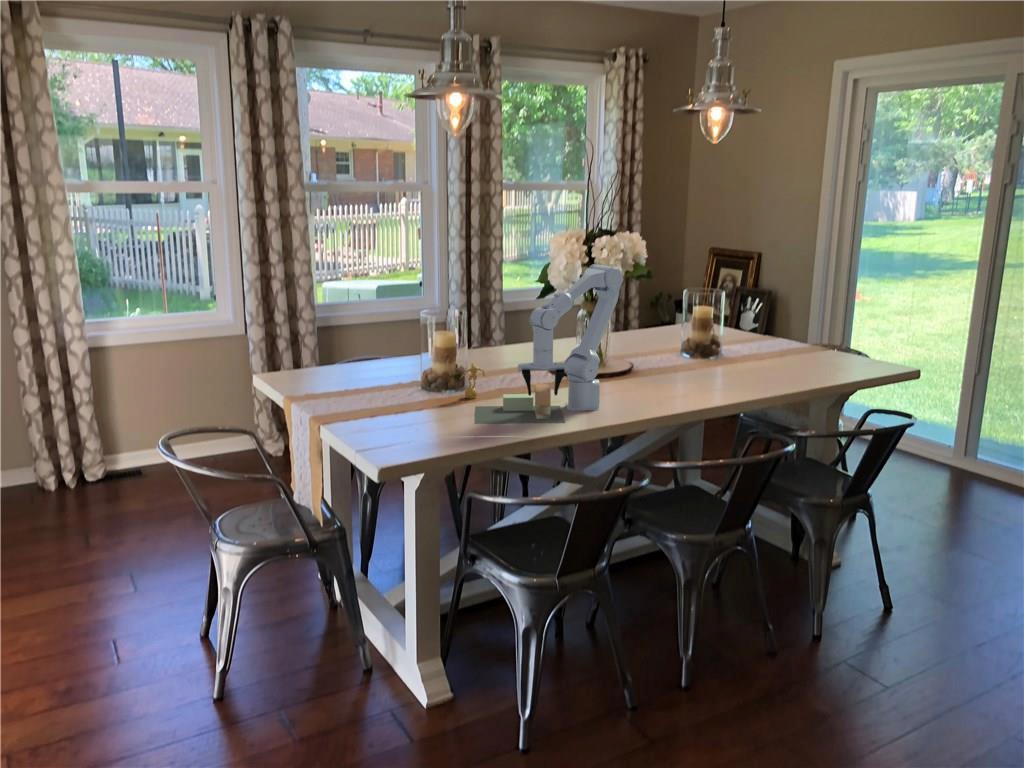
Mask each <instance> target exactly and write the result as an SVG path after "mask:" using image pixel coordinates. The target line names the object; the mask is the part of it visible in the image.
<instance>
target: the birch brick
mask: <svg viewBox="0 0 1024 768" xmlns="http://www.w3.org/2000/svg"><path fill="white" fill-rule="evenodd" d="M534 406H535V413H536V418H537V419H549V418H550V410H551V406H552V405H551V404H550V405H536V400H535V399H534Z"/></svg>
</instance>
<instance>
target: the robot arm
mask: <svg viewBox="0 0 1024 768" xmlns="http://www.w3.org/2000/svg"><path fill="white" fill-rule="evenodd" d="M622 273H623V272H622V271H621V269H620V268H619V267H618V266H613V265H611V266H610V265H602V264H599V263H593V264H591V265H589V267H588V268H587V269H585V270H584V273H583V275H582V276H581V277H580V278H579V279H578V280H577V281H575V282H574V283H573V284H572V285H571V286H570V287H569V288H568V289H567V290H566V291H565V292H564V291H559V292H555V293H554V294H553V297H552V298H551V299H549V300H548V301H547V302H544V303H543V305H542V306H541V307H536V308H535V309H534V310H532V312H531V313H530V316H529V317H528V320H529V324H530V325H531V327H532V328H531V329H532V332H533V334H532V335H533V340H532V341H533V342H532V343H533V347H532V348H533V349H532V352H533V353H532V354H533V355H532V356H533V357H532V359H533V361H532V362H523V363H517V371H518V372H521V375H522V377H523V379H524V382H525V384H526V388H527V394H528V395H529V396H531V394H532V388H531V381H532V379H531V378H532V377H531V376H532V374H531V372H535V371H538V372H543V371H544V372H545V371H546V372H549V371H551V372H552V371H554V388H553V389H554V391H553V393H554V396H558V391H559V387H560V385H561V382H562V380H563V378H564V376H565V374H566V375H567V379H568V395H567V396H568V397H567V398H568V401H567V402H565V406H566V408H567V410H568V411H600V401H601V400H600V396H601V395H600V391H601V389H600V386H601V385H600V380H599V379H595V378H596V377H597V375H598V372H599V365H600V362H601V359H600V357H599V355H598V354H597V352H598V350H599V347H600V344H601V342H602V339H603V337H604V335H605V332H606V330H607V327H608V325H609V322H610V320H611V317H612V315H613V313H614V311H615V308H616V307H617V306H616V305H617V303H618V301H619V300H618V299H619V297H620V296H619V294H620V290H621V287H622V284H623V282H624V277H623V274H622ZM591 289H593V290H594V291H595V293H596V294H597V297H598V300H597V302H596V305H595V307H594V309H593V312H592V314H591V317H590V319H589V322H588V324H587V327H586V329H585V331H584V334H583V336H582V338H581V341H580V343H579V345H578V346H576V347H575V348H574V349H572V350H571V352H570V354H568V357H567V358H566V359H565V360H564V362H554V328H556V326H557V325H558V323H559V320H560V318H561V317H562V316H563V315H565V314H566V313H567V312H568V311H570V309H572V308H573V305H574V301H576V300H577V299H579V297H581V296H582V295H583V294H585V293H586V292H588V291H589V290H591Z"/></svg>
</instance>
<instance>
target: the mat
mask: <svg viewBox="0 0 1024 768" xmlns="http://www.w3.org/2000/svg"><path fill="white" fill-rule="evenodd" d="M565 423H566V419H565V417H564V414H563V411H562V407H561V405H551V410H550V418H549V419H537V418H536V413H535V405H533V410H530V411H503V405H500V406H499V405H494V406H493V405H492V406H491V405H490V406H488V405H484V406H482V405H477V406H474V424H475V425H483V424H484V425H485V424H487V425H491V424H492V425H493V424H496V425H498V424H503V425H504V424H565Z"/></svg>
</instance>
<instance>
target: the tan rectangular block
mask: <svg viewBox="0 0 1024 768" xmlns="http://www.w3.org/2000/svg"><path fill="white" fill-rule="evenodd" d="M551 396H552V394H551V389H550V385H549V383H548V384H547V383H545V384H544V383H539V384H538V383H537V384H535V383H534V401H535V400H536V405H551V399H552V398H551Z"/></svg>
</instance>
